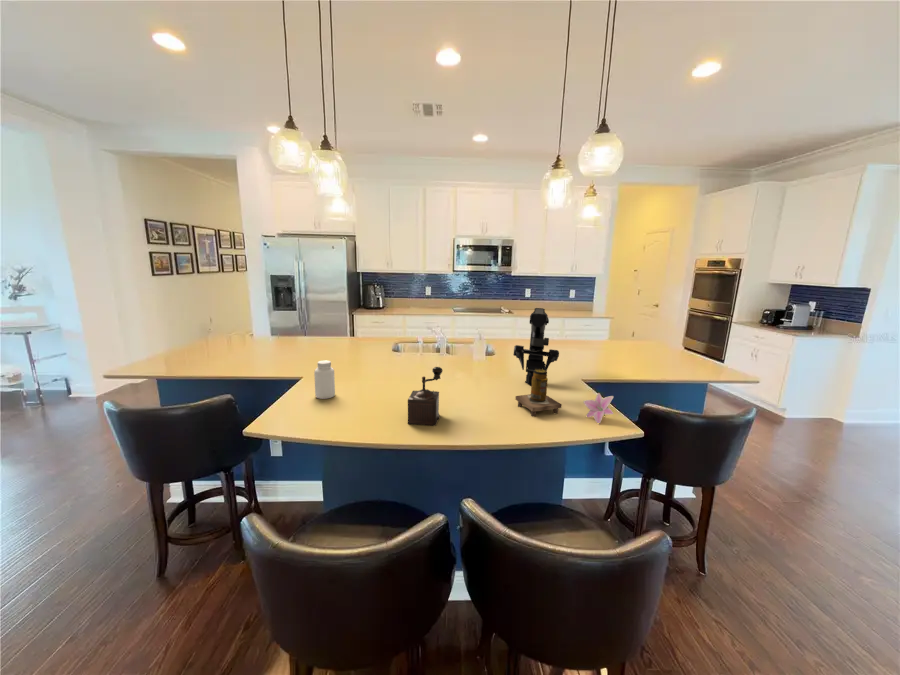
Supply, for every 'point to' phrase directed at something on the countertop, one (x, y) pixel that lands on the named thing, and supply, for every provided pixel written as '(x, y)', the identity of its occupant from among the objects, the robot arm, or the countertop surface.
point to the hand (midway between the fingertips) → (534, 371)
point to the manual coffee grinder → (424, 404)
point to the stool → (538, 407)
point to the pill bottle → (324, 380)
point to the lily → (598, 407)
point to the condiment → (539, 387)
